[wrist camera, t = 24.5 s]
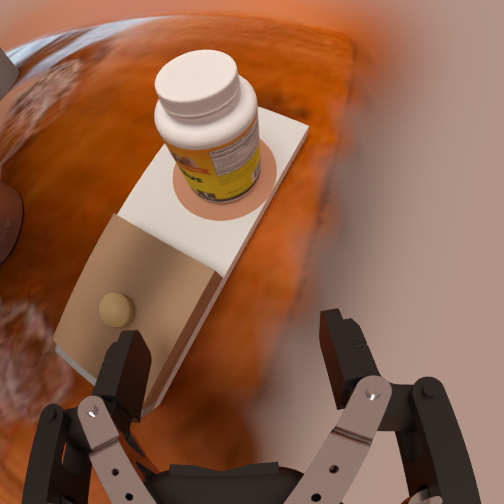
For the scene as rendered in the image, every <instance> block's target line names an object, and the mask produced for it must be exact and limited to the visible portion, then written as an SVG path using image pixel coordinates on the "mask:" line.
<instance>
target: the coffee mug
mask: <svg viewBox="0 0 504 504" xmlns="http://www.w3.org/2000/svg"><path fill="white" fill-rule="evenodd" d="M18 75H19V70H18V69H17V68H16V66H15V65H14V64H13V63H12V62H11V60H10V59H9V58H8V57H7V56H6V54H5V53H4V52H3V51H2V49H1V48H0V100H1V99H2V98H3V97H4V96H5V95H6V93H7V92H8V91H9V90H10V88H11V87H12V86H13V84H14V83H15V81H16V79H17V77H18Z"/></svg>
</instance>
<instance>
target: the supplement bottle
mask: <svg viewBox="0 0 504 504" xmlns="http://www.w3.org/2000/svg"><path fill="white" fill-rule="evenodd" d="M155 89H156V92H157V94H158V97H159V100H158V102H157V105H156V108H155V114H154V117H155V124H156V127H157V129H158V132H159V134H160V136H161V138H162V139H163V141H164V142H165V145H166V146H167V148H168V150H169V152H170V153H171V155H172V157H173V158H174V160H175V162H176V164H177V165H178V167H179V169H180V170H181V172H182V174H183V176H184V177H185V179H186V181H187V183H188V184H189V186H190V187H191V189H192V190H193V191H194V192H195V193H196V194H197V195H198V196H199V197H201V198H203V199H205V200H207V201H210V202H215V203H226V202H231V201H234V200H237V199H239V198H241V197H243V196H245V195H246V194H247V193H248V192H250V191H251V190H252V188H253V187H254V186H255V184H256V183H257V181H258V179H259V176H260V172H261V155H260V138H259V122H258V106H257V98H256V94H255V91H254V89H253V87H252V86H251V85H250V84H249V82H248V81H247V80H245V79H244V78H243V77H241V76H239V75H238V71H237V66H236V63H235V61H234V60H233V59H232V58H231V57H230V56H229V55H227V54H225V53H223V52H220V51H215V50H198V51H193V52H189V53H186V54H183V55H181V56H178V57H177V58H175V59H173V60H172V61H170V62H169V63H167V64H166V65H165V66H164V67H163V68H162V69H161V70H160V72H159V73H158V75H157V77H156V80H155Z"/></svg>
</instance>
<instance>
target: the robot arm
mask: <svg viewBox="0 0 504 504" xmlns="http://www.w3.org/2000/svg"><path fill="white" fill-rule="evenodd" d="M22 212H23V208H22V200H21V197H20V195H19V193H18V192H17V191H15V190H14V189H12V188H11V187H9V186H8V185H6V184H4V183H3V182H1V181H0V263H2V262H3V261H4V260H5V259H6V258H7V256H8V255H9V253H10V252H11V250H12V248H13V246H14V244H15V242H16V239H17V237H18V234H19V230H20V227H21V221H22ZM319 340H320V346H321V350H322V354H323V357H324V361H325V365H326V369H327V372H328V376H329V380H330V384H331V387H332V391H333V395H334V399H335V403H336V407H337V410H340V409H345V410H344V411H343V413H342V415H341V417H340V419H339V421H338V423H337V424H336V426H335V428H334V429H332V431H331V432H330V434H329V436H328V437H327V439H326V441H325V443H324V444H323V446H322V448H321V449H320V451H319V452H318V454H317V456H316V457H315V459H314V460H313V462H312V463H311V465H310V466H309V468H308V470H307V471H306V473H305V474H304V473H302V472H299V471H297V470H294V469H291V468H285V467H279V465H278V462H272V463H261V464H250V465H246V466H243V467H239V468H235V469H232V470H228V471H223V472H221V471H216V470H211V469H207V468H203V467H199V466H195V465H173V464H170V470H167V471H163V472H161V473H160V471H159V470H158V469H157V468H156V467H155V465H154V464H153V463H152V462H151V461H150V460H149V458H148V457H147V455H146V454H145V452H144V450H143V449H142V447H141V445H140V444H139V442H138V440H137V439H136V437H135V435H134V434H133V432H132V430H131V429H130V425H131V422H135V423H140V418H141V413H142V407H143V402H144V397H145V392H146V387H147V382H148V378H149V373H150V368H151V364H152V357H151V352H150V350H149V348H148V346H147V345H146V343H145V341H144V339H143V337H142V335H141V333H140V332H139V331H138V330H123V331H121V333H120V335H119V338H118V341H117V342H113V343H112V345H111V346H110V347H109V348H108V350H107V352H106V354H105V357H104V361H103V363H102V366H101V369H100V372H99V375H98V378H97V381H96V384H95V387H94V390H93V393H92V396H89V397H87V398H85V399H84V400H82V402H81V403H80V404H79V407H75V408H70V409H65V410H64V409H63V408H62V407H61V406H59V405H58V404H50V405H48V406H46V407H45V408H44V409H43V411H42V413H41V416H40V419H39V423H38V426H37V430H36V434H35V438H34V442H33V446H32V450H31V454H30V459H29V463H28V468H27V473H26V479H25V484H24V491H23V498H22V504H88V494H89V485H90V476H91V468H92V465H93V467H94V469H95V471H96V473H97V475H98V477H99V479H100V481H101V483H102V485H103V487H104V489H105V491H106V493H107V495H108V497H109V499H110V500H111V502H112V504H343V503H342V502H341V501H342V499H343V497H344V496H345V494H346V492H347V490H348V489H349V487H350V485H351V484H352V482H353V480H354V478H355V476H356V474H357V473H358V471H359V469H360V467H361V465H362V463H363V461H364V459H365V457H366V455H367V453H368V451H369V449H370V447H371V444H372V440H373V438H374V436H375V433H376V431H395V434H396V438H397V442H398V446H399V450H400V454H401V458H402V463H403V467H404V472H405V477H406V481H407V486H408V491H409V497H408V498H407V499H405V500H404V501H403V502H402V503H401V504H481V501H480V496H479V492H478V488H477V484H476V480H475V476H474V473H473V469H472V466H471V462H470V459H469V455H468V452H467V449H466V445H465V442H464V440H463V436H462V433H461V431H460V428H459V425H458V422H457V420H456V417H455V414H454V411H453V409H452V406H451V404H450V401H449V399H448V396H447V394H446V392H445V389H444V386H443V385H442V383H441V382H440V381H439V380H437V379H436V378H433V377H423V378H420V379H418V380H417V381H416V382H415V384H414V385H399V384H393V383H390V382H388V381H387V380H386V379H384V378H383V377H382V376H381V375H380V373H379V371H378V369H377V367H376V364H375V361H374V359H373V356H372V354H371V352H370V349H369V347H368V345H367V342H366V340H365V338H364V335H363V333H362V330H361V328H360V326H359V325H358V324H357V323H356V322H355V321H353V319H351V318H350V319H345V320H343V318H342V316H341V313H340V311H339V309H338V308H337V309H332V310H325V311H321V313H320V329H319ZM65 443H66V449H65V454H64V460H63V465H62V455H63V450H64V445H65Z"/></svg>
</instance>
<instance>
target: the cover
mask: <svg viewBox="0 0 504 504" xmlns="http://www.w3.org/2000/svg"><path fill="white" fill-rule="evenodd" d="M222 279H223V277H222V276H221V275H220V274H218V273H217V272H216V271H215V270H214V269H212V268H210V267H208V266H206V265H205V264H203V263H201V262H199V261H197V260H195V259H194V258H192V257H190V256H188V255H186V254H185V253H183V252H181V251H179V250H177V249H176V248H174V247H172V246H170V245H168V244H167V243H165V242H163V241H161V240H160V239H158V238H156V237H154V236H152V235H151V234H149V233H147V232H145V231H144V230H142V229H140V228H138V227H137V226H135V225H133V224H132V223H130V222H128V221H126V220H125V219H123V218H121V217H120V216H118V215H116V214H113V216H112V218H111V219H110V221H109V223H108V225H107V226H106V228H105V230H104V232H103V233H102V235H101V237H100V239H99V241H98V242H97V244H96V246H95V248H94V250H93V252H92V254H91V255H90V257H89V259H88V261H87V263H86V265H85V267H84V269H83V271H82V273H81V275H80V277H79V279H78V281H77V283H76V286H75V288H74V290H73V292H72V294H71V296H70V299H69V301H68V303H67V305H66V308H65V310H64V312H63V315H62V317H61V319H60V322H59V324H58V327H57V329H56V332H55V334H54V337H53V339H52V340H53V341H54V342H55V343H56V344H57V345H58V346H59V347H60V348H61V349H62V350H63V351H65V352H66V353H67V354H68V355H69V356H70V357H71V358H72V359H73V360H74V361H75V362H77V363H78V364H79V365H80V366H81V367H82V368H83V369H85V370H86V371H87V372H88V373H89V374H90V375H92V376H93V377H94V378H95V379H96V380H97V378H98V375H99V372H100V369H101V366H102V363H103V361H104V357H105V354H106V352H107V350H108V348H109V347H110V346H111V345H112V343H113V342H117V341H118V338H119V335H120V333H121V331H123V330H138V331H139V332H140V333H141V335H142V337H143V339H144V341H145V343H146V345H147V346H148V348H149V350H150V352H151V357H152V364H151V368H150V373H149V378H148V382H147V387H146V392H145V397H144V402H143V407H142V410H143V409H145V408H146V407H148V406H150V405H151V404H152V403H154V402H155V401H157V399H158V397H159V395H160V394H161V392H162V390H163V388H164V386H165V384H166V382H167V380H168V379H169V377H170V375H171V373H172V371H173V369H174V367H175V365H176V364H177V362H178V360H179V358H180V356H181V354H182V352H183V350H184V349H185V347H186V345H187V343H188V341H189V339H190V337H191V336H192V334H193V332H194V330H195V328H196V326H197V325H198V323H199V321H200V319H201V317H202V315H203V313H204V312H205V310H206V308H207V306H208V304H209V302H210V301H211V299H212V297H213V295H214V293H215V291H216V290H217V288H218V286H219V284H220V282H221V281H222Z"/></svg>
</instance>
